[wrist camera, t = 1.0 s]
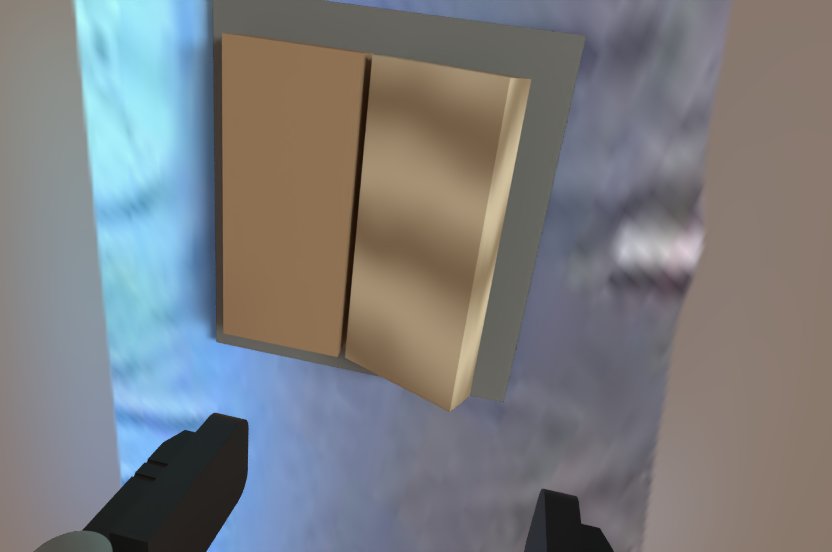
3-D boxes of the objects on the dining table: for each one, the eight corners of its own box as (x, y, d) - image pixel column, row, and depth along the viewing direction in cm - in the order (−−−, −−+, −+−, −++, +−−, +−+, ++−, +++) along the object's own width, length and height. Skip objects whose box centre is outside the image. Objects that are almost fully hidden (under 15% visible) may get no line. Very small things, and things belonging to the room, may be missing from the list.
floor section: (218, -14, 28) (190, -19, 26) (584, 35, 26) (590, 34, 24) (221, 337, 36) (199, 358, 34) (504, 396, 34) (502, 422, 32)
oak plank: (398, 56, 28) (372, 54, 26) (531, 78, 24) (510, 78, 23) (367, 345, 34) (345, 357, 32) (469, 395, 30) (449, 412, 29)
